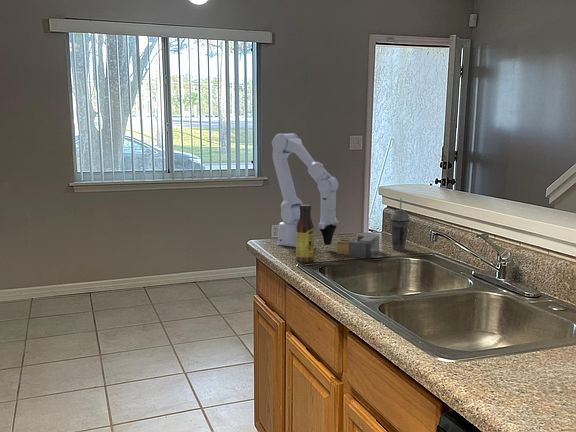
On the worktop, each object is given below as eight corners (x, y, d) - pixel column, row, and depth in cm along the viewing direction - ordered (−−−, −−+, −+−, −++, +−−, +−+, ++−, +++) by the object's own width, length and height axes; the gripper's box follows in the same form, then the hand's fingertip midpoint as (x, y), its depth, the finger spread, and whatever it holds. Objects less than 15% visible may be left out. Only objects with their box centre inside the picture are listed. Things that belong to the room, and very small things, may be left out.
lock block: (336, 254, 208) (337, 242, 207) (342, 249, 215) (342, 238, 214) (349, 255, 206) (350, 243, 205) (354, 251, 213) (355, 240, 212)
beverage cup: (407, 247, 219) (409, 196, 215) (409, 251, 211) (411, 199, 208) (388, 246, 219) (390, 196, 216) (389, 251, 212) (391, 199, 209)
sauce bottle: (311, 263, 193) (312, 206, 190) (294, 262, 195) (294, 206, 191) (314, 258, 200) (315, 204, 196) (297, 258, 201) (298, 203, 198)
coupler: (348, 256, 203) (348, 239, 202) (358, 249, 215) (359, 232, 214) (369, 258, 200) (370, 241, 199) (379, 251, 212) (379, 234, 211)
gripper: (331, 212, 203) (331, 249, 205) (344, 207, 216) (343, 241, 218) (313, 211, 206) (313, 247, 208) (327, 206, 219) (326, 240, 221)
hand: (327, 244), depth 213 cm, fingers closed
